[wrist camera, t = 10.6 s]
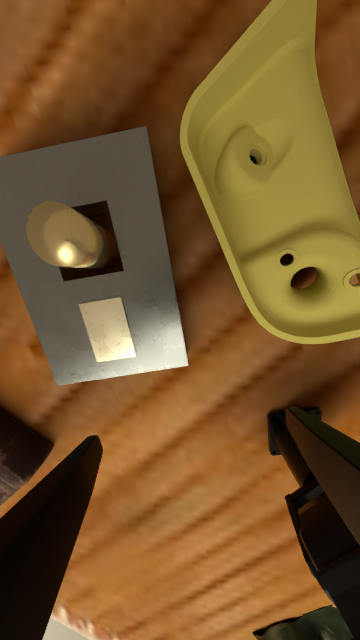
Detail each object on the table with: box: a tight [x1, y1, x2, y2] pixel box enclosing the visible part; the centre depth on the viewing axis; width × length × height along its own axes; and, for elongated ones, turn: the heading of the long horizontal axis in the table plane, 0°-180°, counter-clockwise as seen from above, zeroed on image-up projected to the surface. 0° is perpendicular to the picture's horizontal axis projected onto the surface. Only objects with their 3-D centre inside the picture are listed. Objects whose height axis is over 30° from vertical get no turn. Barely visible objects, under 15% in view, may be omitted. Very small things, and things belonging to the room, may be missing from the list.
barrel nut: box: [26, 201, 117, 269], centre depth 15 cm, size 4×4×6 cm
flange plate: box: [0, 126, 188, 386], centre depth 17 cm, size 20×14×3 cm
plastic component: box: [180, 0, 360, 344], centre depth 15 cm, size 20×8×10 cm
